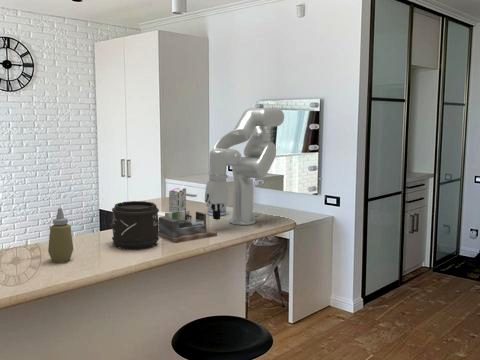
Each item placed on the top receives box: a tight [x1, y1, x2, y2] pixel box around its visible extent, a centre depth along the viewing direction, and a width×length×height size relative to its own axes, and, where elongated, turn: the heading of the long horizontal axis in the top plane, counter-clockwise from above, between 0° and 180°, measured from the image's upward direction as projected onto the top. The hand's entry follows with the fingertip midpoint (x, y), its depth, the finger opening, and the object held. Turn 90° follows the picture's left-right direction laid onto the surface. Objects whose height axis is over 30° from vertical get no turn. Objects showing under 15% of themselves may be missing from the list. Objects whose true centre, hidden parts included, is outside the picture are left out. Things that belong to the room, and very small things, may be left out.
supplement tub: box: [207, 205, 227, 217], centre depth 244 cm, size 10×10×15 cm
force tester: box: [158, 209, 218, 244], centre depth 199 cm, size 21×16×9 cm
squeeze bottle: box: [47, 207, 74, 263], centre depth 159 cm, size 8×8×18 cm
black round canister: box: [110, 200, 160, 251], centre depth 183 cm, size 18×18×16 cm
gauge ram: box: [184, 211, 207, 228], centre depth 203 cm, size 7×9×7 cm
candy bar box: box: [168, 187, 187, 213], centre depth 219 cm, size 11×5×16 cm, turn 168°
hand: (216, 219), depth 210 cm, fingers closed
